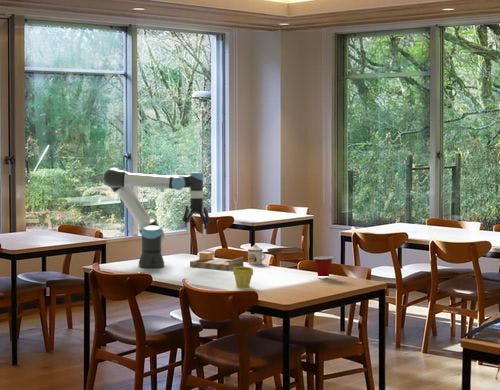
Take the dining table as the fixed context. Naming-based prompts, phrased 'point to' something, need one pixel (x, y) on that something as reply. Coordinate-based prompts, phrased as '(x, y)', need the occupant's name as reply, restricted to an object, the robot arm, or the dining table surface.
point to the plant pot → (243, 276)
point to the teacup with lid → (255, 255)
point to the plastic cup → (323, 265)
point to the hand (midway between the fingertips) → (196, 233)
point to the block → (206, 255)
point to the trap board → (218, 263)
